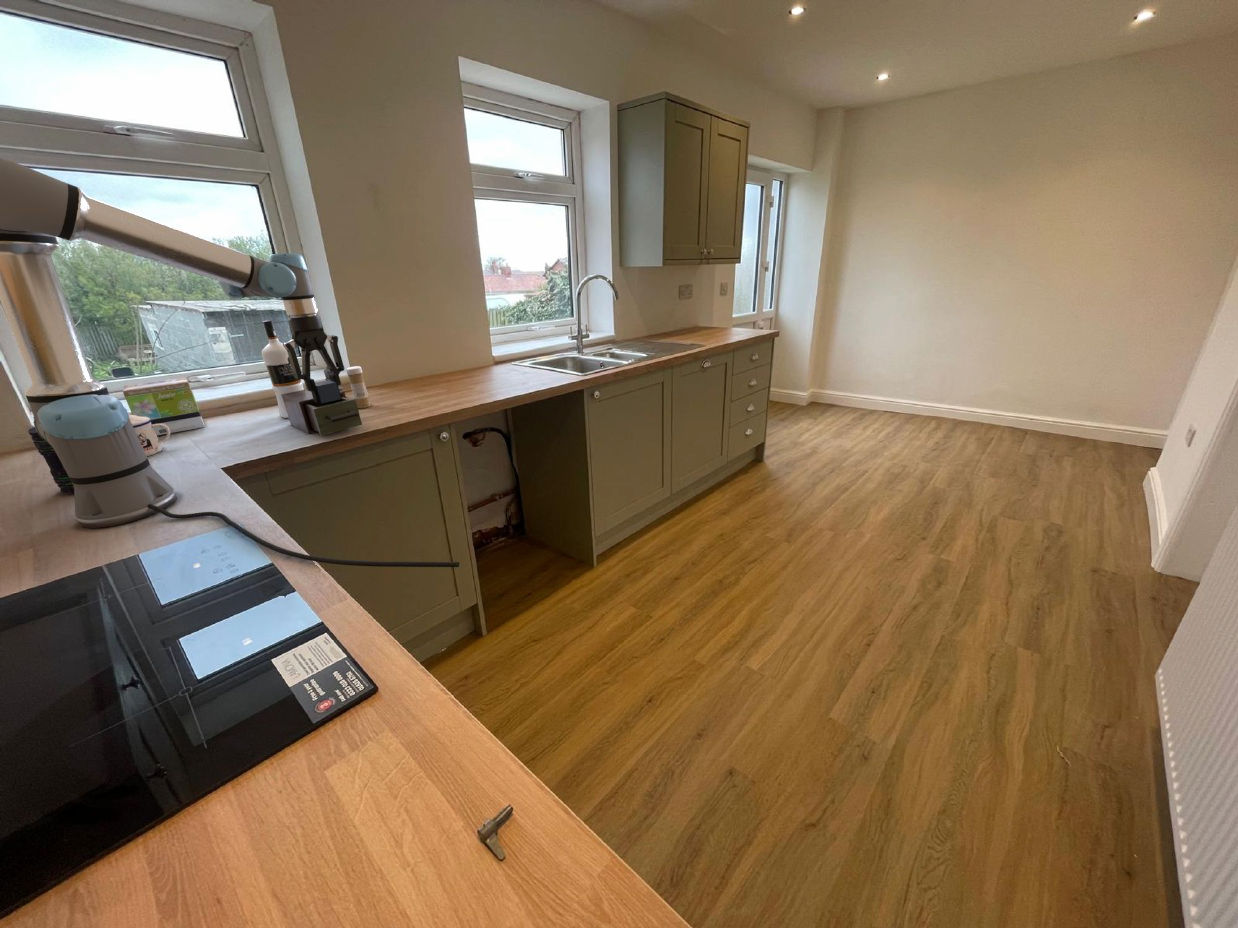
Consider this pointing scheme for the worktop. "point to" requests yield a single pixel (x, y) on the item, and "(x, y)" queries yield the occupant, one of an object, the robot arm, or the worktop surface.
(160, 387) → the tea box
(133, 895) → the worktop surface
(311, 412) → the drawer
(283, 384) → the vodka
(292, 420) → the cabinet
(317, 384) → the block
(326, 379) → the grey figurine
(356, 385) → the sprinkles bottle
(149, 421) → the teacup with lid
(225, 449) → the worktop surface
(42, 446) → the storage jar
